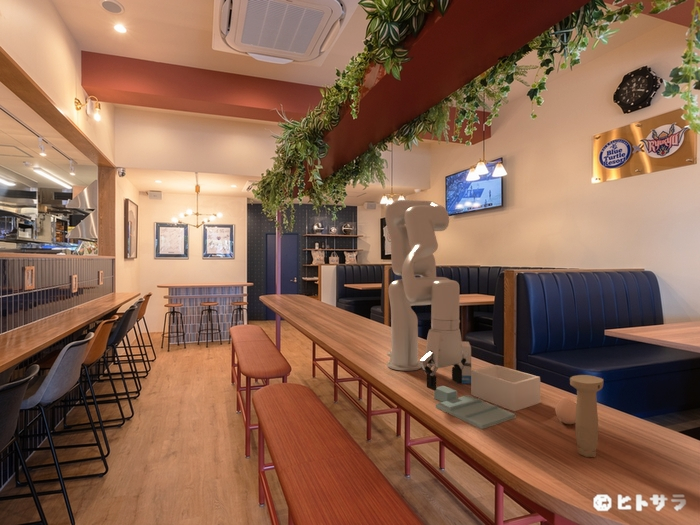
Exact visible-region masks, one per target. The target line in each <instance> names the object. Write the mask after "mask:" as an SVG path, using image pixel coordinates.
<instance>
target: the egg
mask: <svg viewBox="0 0 700 525" xmlns="http://www.w3.org/2000/svg"><path fill="white" fill-rule="evenodd" d="M576 405H577V402H575V401H574V400H572V399H571V398H568V397H565V398H561V399H560V400H559V401H558V402H557V403H556V405H555V415H556V417H557V419H559V421H561V422H562V423H563V424H566V425H572V424H573V425H575V420H576Z"/></svg>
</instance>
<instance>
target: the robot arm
mask: <svg viewBox="0 0 700 525" xmlns="http://www.w3.org/2000/svg"><path fill="white" fill-rule="evenodd" d="M384 212H385V213H384V214H385V215H384V216H385V218H384V220H385V225H386V228H387V231H388V234H389V238H390V253H391V254H390V255H391V256H390V257H391V260H390V261H391V269H392V271H393V274H395V275H397V276H401V278H400V279H396V280H394V281H392V282H391V283H390V284H389V286H388V288H387V291H388V293H387V294H388V297H389V298H388V299H389V304H390V322H391V324H390V325H391V327H390V332H391V333H390V335H391V339H390V340H391V350H390V351H389V352H387V354H386V355H387V356H388V357H390V358H389V360H388V362H386V364H387V365H386V366H387V368H389V369H391V370H396V371H404V372H409V371H411V372H413V371H417V370H420V369H421V370H423V371H424V374H425V375H426V388H428V389H429V390H432V391H434V390H436V387H437V375H436V373H437V371H438V370H439V369H441V368H446V367H450V366H452V367H451V381H452V382H454V383H456V382H457V383H456V384H459V385H461V384H462V369H463V368H464V366H463V365H464V364H465V362H466V358H467V355H468V352H467V351H465V350H463V349H462V340H463V339H462V334H461V329H460V323H461V320H460V284H459V282H458V281H457V280H453V279H450V278H448V277H444V276H437V264H436V258H435V256H434V254H435V253H436V251H437V250H438V247H439V244H438V240H437V236H436V233H435V232H444V231H445V230H447V228H448V227H449V223H450V218H449V217H450V216H449V213H448V210H447V208H445V206H444V205H441V204H439V203H437V202H434V201H432V200H413V199H399V200H398V199H397V200H392V201H390V202H388V204H387V205H386V208H385V211H384ZM416 276H417V277H416ZM428 305H429V306H430V305H431V308H430V309H431V310H430V311H431V314H430V322H431V323H430V326H431V327H430V329H428V333H427V337H426V345H425V355H424V356H423V357H421V359H419V341H418V339H419V326H418V325H419V324H418V322H419V320H418V316H417V314H416V312H415V311H414V310H413V309H412V306H428Z"/></svg>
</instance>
